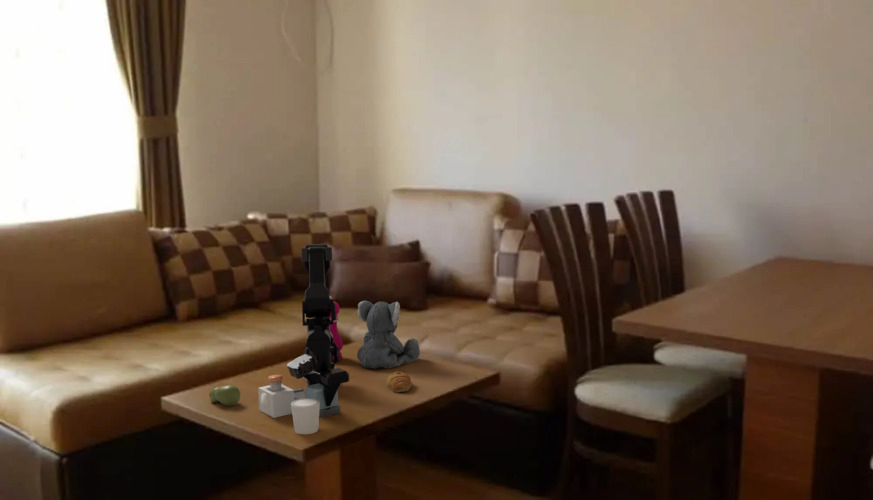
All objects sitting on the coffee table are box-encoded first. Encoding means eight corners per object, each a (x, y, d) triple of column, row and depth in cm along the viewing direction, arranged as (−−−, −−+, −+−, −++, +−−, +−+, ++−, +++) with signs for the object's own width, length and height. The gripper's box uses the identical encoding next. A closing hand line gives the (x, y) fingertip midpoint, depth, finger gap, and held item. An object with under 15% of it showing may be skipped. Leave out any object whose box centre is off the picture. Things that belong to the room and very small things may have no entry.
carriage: (326, 405, 233) (325, 381, 232) (338, 410, 228) (337, 387, 227) (305, 410, 229) (304, 386, 228) (317, 416, 224) (316, 391, 224)
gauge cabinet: (280, 405, 234) (279, 382, 233) (295, 412, 228) (294, 390, 227) (257, 410, 230) (256, 387, 229) (272, 418, 224) (271, 395, 223)
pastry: (414, 393, 242) (414, 379, 242) (390, 395, 241) (389, 381, 240) (408, 382, 252) (408, 369, 251) (385, 385, 250) (384, 371, 250)
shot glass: (293, 426, 218) (291, 398, 217) (321, 424, 219) (320, 397, 218) (291, 436, 211) (289, 407, 210) (320, 434, 212) (319, 406, 211)
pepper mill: (339, 362, 272) (336, 298, 269) (316, 362, 274) (313, 298, 271) (346, 356, 279) (344, 293, 276) (324, 355, 281) (321, 293, 278)
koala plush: (423, 359, 274) (422, 297, 271) (390, 374, 259) (388, 308, 256) (378, 352, 284) (376, 292, 281) (343, 366, 269) (340, 302, 266)
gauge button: (279, 395, 231) (278, 373, 230) (286, 399, 228) (285, 376, 227) (266, 398, 229) (265, 376, 228) (273, 402, 226) (272, 379, 225)
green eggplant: (226, 388, 231) (202, 388, 237) (229, 408, 231) (206, 407, 237) (242, 382, 235) (219, 382, 241) (246, 402, 235) (222, 401, 242)
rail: (301, 394, 242) (301, 388, 242) (340, 413, 227) (340, 406, 226) (284, 398, 239) (284, 392, 239) (322, 417, 223) (322, 411, 223)
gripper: (273, 342, 228) (276, 400, 231) (309, 357, 214) (312, 419, 216) (311, 334, 235) (313, 391, 238) (349, 348, 220) (351, 409, 223)
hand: (321, 403), depth 228 cm, fingers closed on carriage, 6 cm apart
